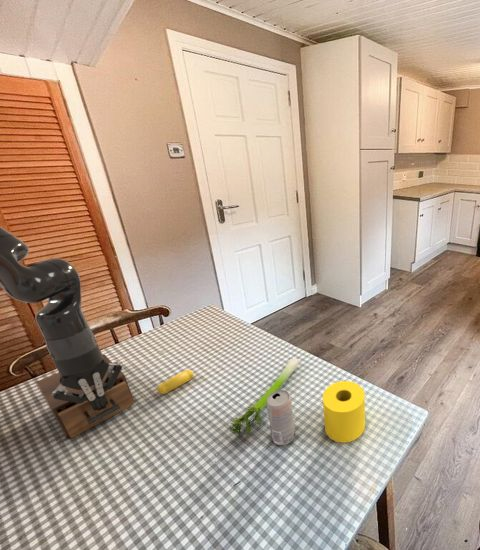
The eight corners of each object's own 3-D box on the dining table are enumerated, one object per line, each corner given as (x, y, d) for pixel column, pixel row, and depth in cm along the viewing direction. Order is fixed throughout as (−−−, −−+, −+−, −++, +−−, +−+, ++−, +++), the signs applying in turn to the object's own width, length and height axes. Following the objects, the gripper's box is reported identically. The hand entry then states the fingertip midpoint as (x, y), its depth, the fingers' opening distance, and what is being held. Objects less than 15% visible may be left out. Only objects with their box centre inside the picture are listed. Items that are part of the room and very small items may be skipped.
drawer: (141, 412, 78) (133, 390, 76) (76, 449, 69) (64, 425, 66) (114, 382, 89) (106, 361, 86) (55, 410, 79) (44, 388, 76)
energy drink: (288, 423, 76) (282, 385, 72) (299, 436, 72) (295, 397, 68) (268, 436, 73) (261, 397, 68) (279, 450, 69) (273, 411, 64)
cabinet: (134, 401, 83) (124, 375, 79) (66, 438, 72) (51, 409, 69) (114, 379, 91) (104, 354, 88) (50, 408, 81) (36, 381, 77)
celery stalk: (305, 370, 97) (251, 446, 69) (285, 369, 99) (225, 444, 71) (302, 353, 95) (245, 424, 68) (282, 353, 97) (219, 422, 69)
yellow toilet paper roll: (317, 434, 73) (314, 404, 69) (336, 404, 82) (334, 376, 78) (355, 448, 69) (354, 417, 66) (370, 415, 78) (370, 386, 75)
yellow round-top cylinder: (161, 398, 84) (158, 389, 83) (156, 393, 86) (153, 384, 85) (196, 378, 91) (194, 370, 90) (191, 374, 93) (188, 366, 92)
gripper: (105, 329, 74) (127, 385, 80) (28, 357, 64) (60, 419, 70) (116, 339, 70) (139, 397, 76) (36, 371, 60) (69, 435, 66)
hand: (101, 407), depth 73 cm, fingers closed
